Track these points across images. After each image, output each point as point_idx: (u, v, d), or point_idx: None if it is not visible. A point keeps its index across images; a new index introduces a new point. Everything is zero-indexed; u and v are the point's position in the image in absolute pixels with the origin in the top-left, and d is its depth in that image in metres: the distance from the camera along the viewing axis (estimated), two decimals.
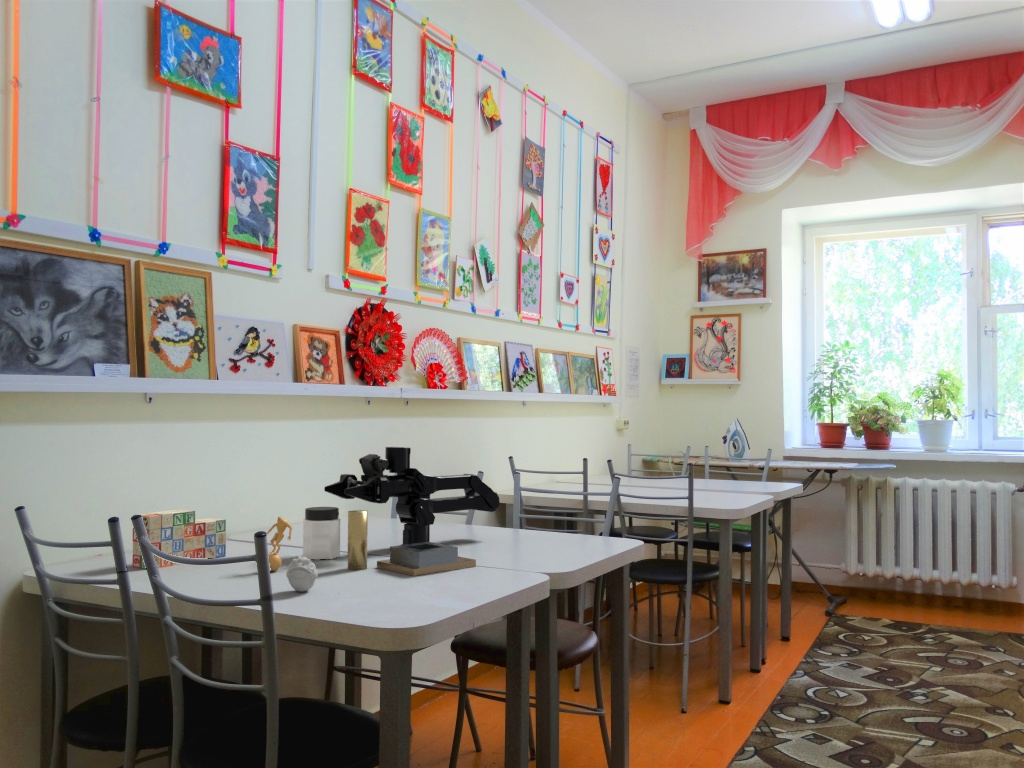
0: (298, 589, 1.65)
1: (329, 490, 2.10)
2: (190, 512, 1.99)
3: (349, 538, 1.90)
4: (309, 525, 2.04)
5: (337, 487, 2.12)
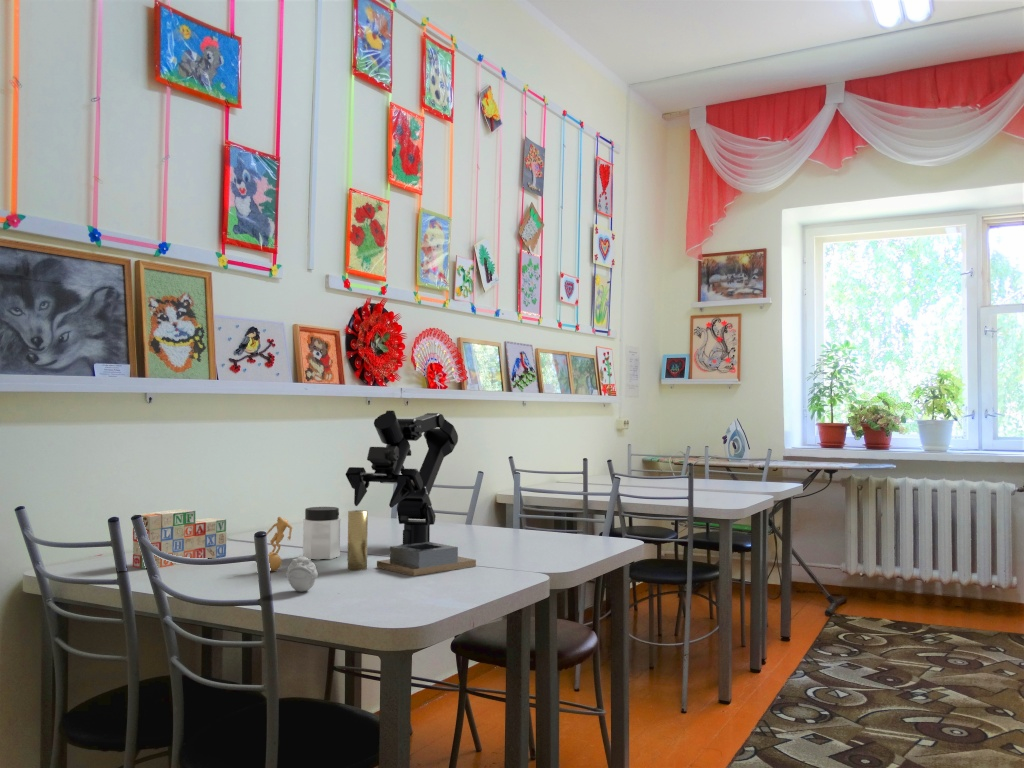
0: (298, 589, 1.65)
1: (358, 501, 2.02)
2: (190, 512, 1.99)
3: (349, 538, 1.90)
4: (309, 525, 2.04)
5: (360, 492, 2.03)
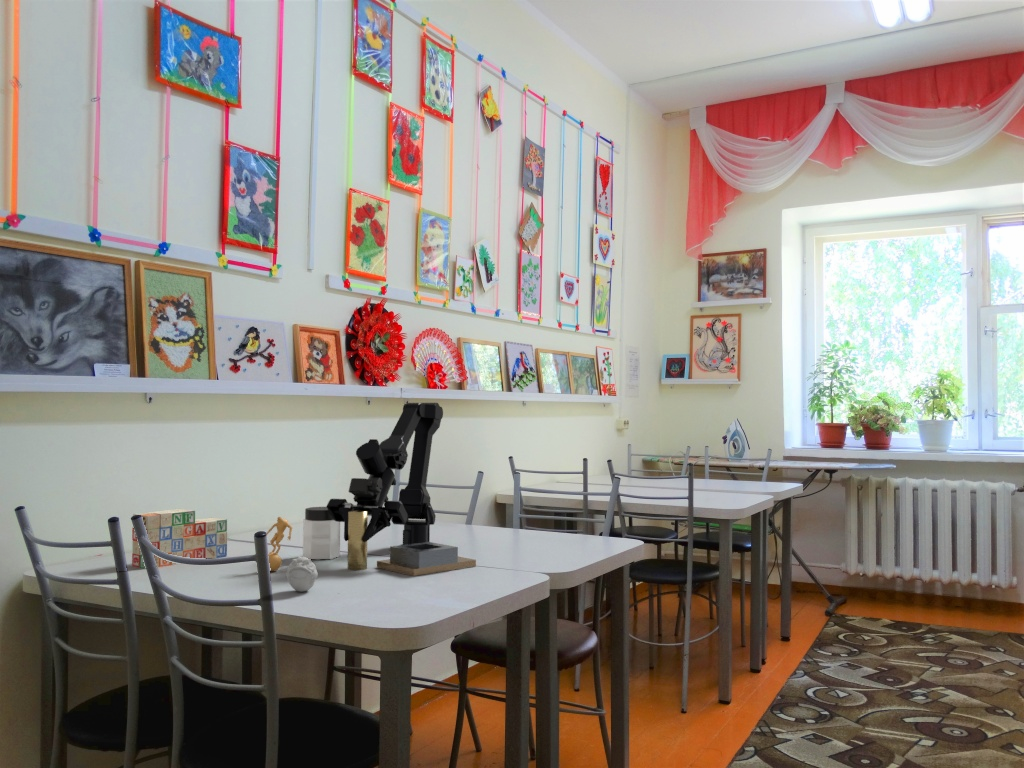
0: (298, 589, 1.65)
1: None
2: (190, 512, 1.99)
3: (349, 538, 1.90)
4: (309, 525, 2.04)
5: None
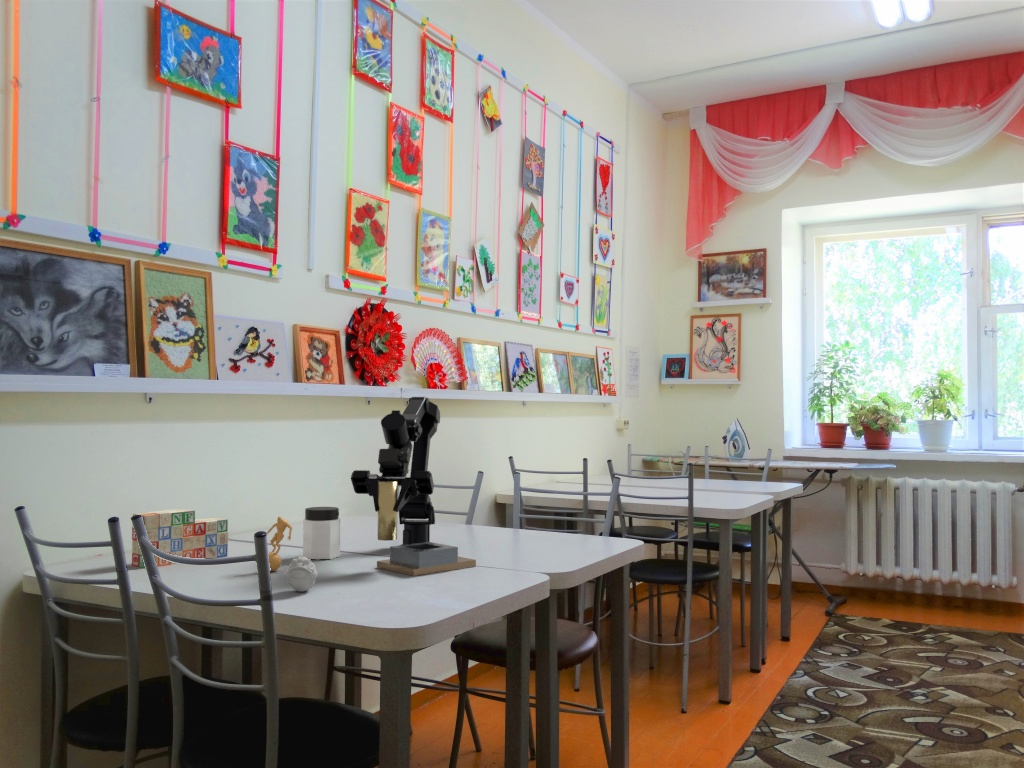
0: (298, 589, 1.65)
1: (377, 506, 1.91)
2: (189, 512, 2.00)
3: (381, 508, 1.89)
4: (309, 525, 2.04)
5: None
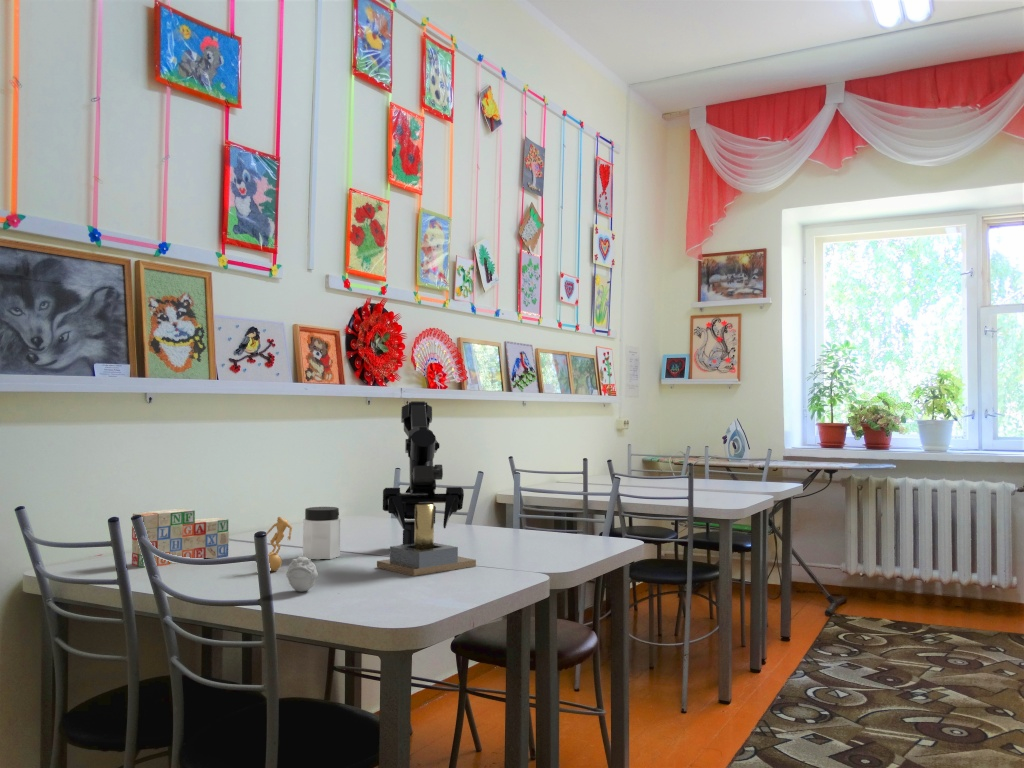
0: (298, 589, 1.65)
1: None
2: (189, 511, 2.00)
3: (420, 531, 1.90)
4: (309, 525, 2.04)
5: None
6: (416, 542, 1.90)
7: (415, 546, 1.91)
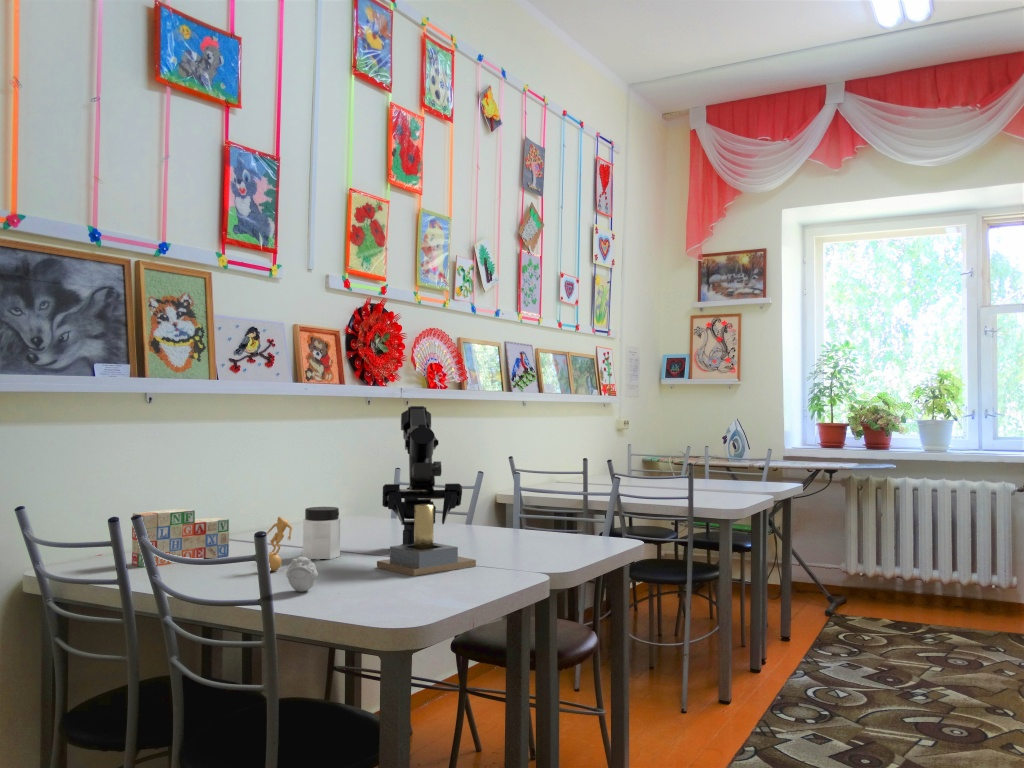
0: (298, 589, 1.65)
1: None
2: (189, 511, 2.00)
3: (419, 532, 1.90)
4: (309, 525, 2.04)
5: (402, 510, 1.96)
6: (416, 543, 1.90)
7: (415, 547, 1.91)
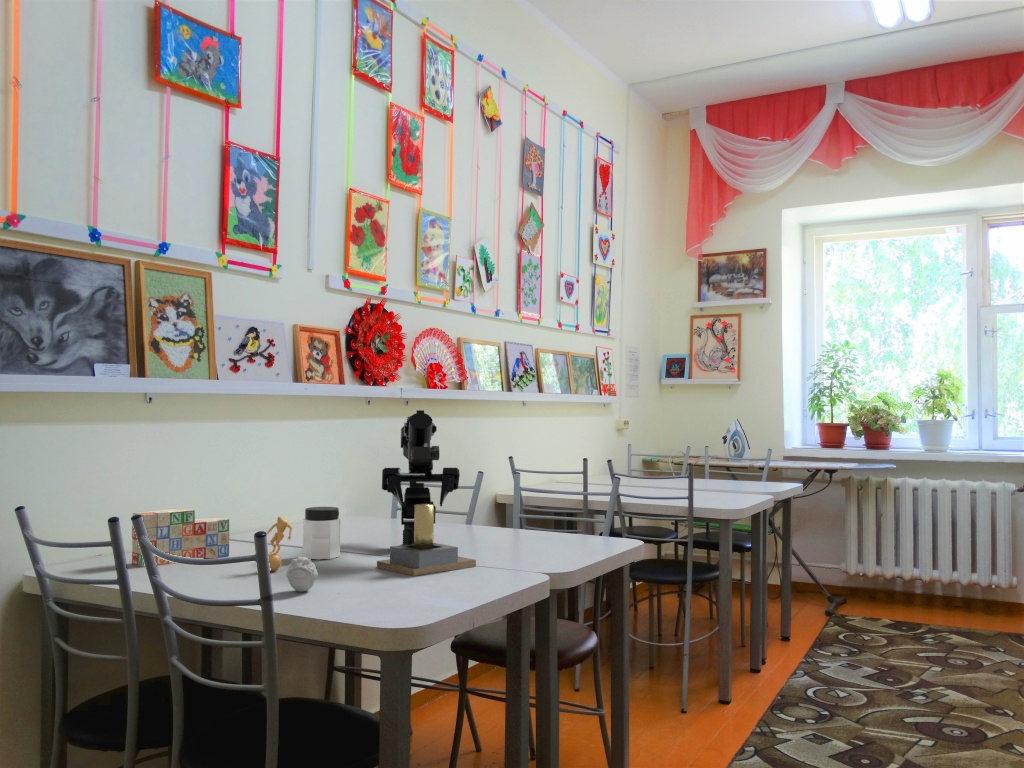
0: (298, 589, 1.65)
1: None
2: (189, 511, 2.00)
3: (419, 532, 1.90)
4: (309, 525, 2.04)
5: (401, 493, 2.01)
6: (416, 543, 1.90)
7: (415, 547, 1.91)
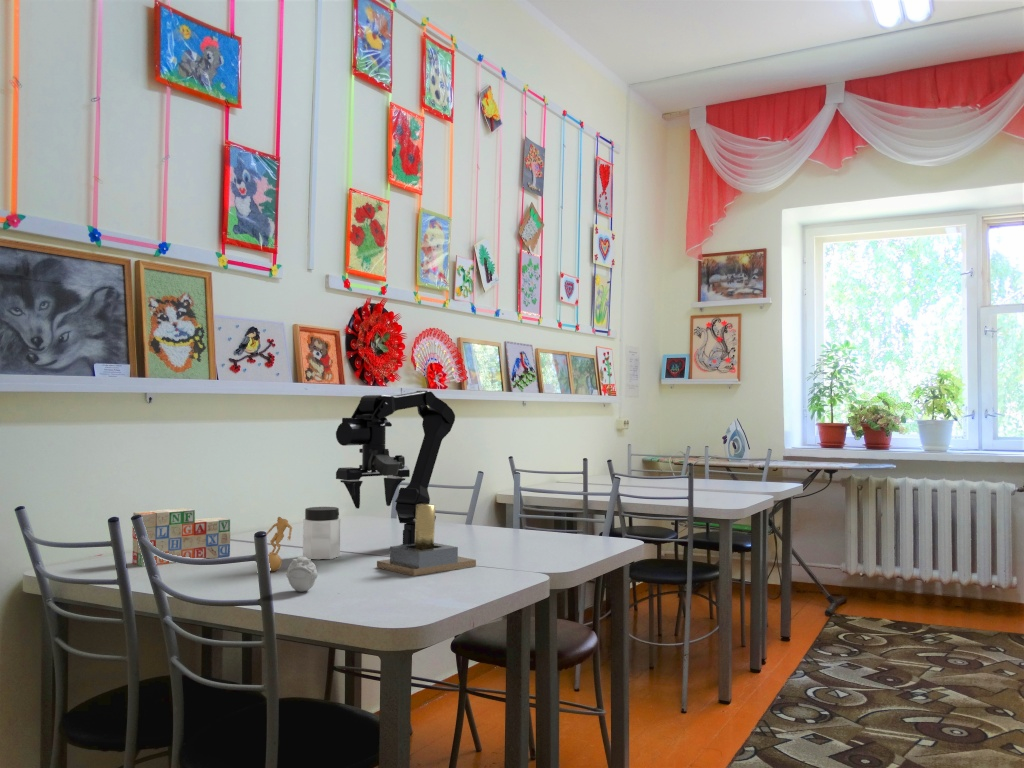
0: (298, 589, 1.65)
1: None
2: (189, 511, 2.01)
3: (420, 532, 1.90)
4: (309, 525, 2.04)
5: None
6: (416, 542, 1.90)
7: (415, 546, 1.91)
